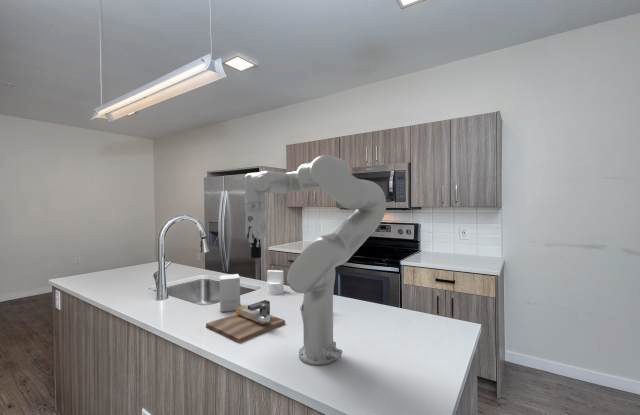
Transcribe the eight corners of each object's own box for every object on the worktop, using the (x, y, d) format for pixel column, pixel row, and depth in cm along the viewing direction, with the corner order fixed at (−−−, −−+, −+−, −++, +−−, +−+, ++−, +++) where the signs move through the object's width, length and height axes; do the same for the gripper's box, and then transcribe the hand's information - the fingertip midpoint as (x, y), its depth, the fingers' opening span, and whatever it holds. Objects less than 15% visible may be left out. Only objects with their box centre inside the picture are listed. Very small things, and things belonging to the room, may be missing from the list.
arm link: (272, 323, 119) (272, 304, 119) (263, 327, 115) (263, 307, 115) (243, 312, 131) (243, 295, 131) (234, 315, 128) (234, 297, 128)
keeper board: (285, 323, 123) (284, 304, 123) (239, 343, 106) (238, 320, 106) (251, 311, 137) (251, 294, 137) (206, 327, 120) (205, 307, 120)
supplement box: (239, 304, 148) (239, 273, 148) (240, 310, 139) (240, 277, 139) (220, 306, 145) (219, 274, 145) (219, 312, 136) (219, 279, 136)
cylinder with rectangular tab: (285, 290, 170) (285, 269, 170) (280, 295, 161) (280, 273, 161) (270, 289, 172) (270, 268, 172) (264, 294, 163) (264, 272, 163)
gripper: (257, 207, 102) (258, 261, 102) (272, 207, 117) (272, 254, 117) (236, 207, 103) (237, 261, 103) (253, 207, 118) (254, 254, 118)
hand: (256, 257), depth 110 cm, fingers closed
